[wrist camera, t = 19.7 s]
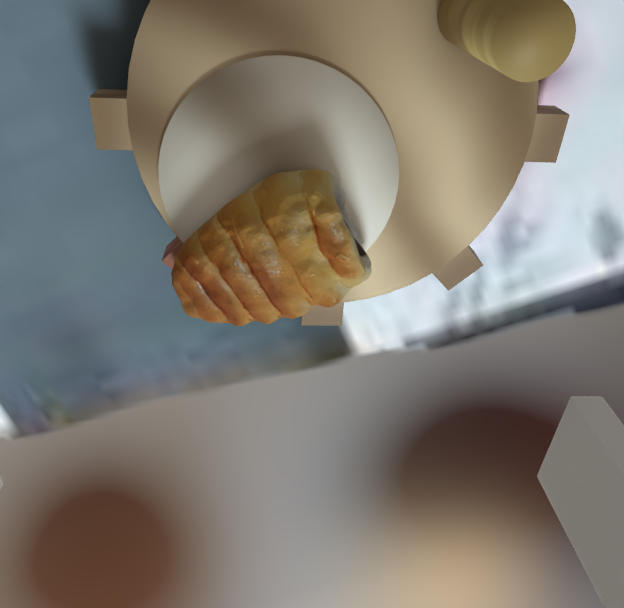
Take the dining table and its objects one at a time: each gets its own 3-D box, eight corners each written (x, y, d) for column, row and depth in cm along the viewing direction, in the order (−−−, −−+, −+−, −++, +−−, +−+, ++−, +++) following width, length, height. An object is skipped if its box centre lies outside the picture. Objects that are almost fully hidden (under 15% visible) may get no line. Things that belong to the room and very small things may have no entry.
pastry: (217, 332, 30) (210, 378, 27) (143, 229, 27) (126, 268, 24) (378, 260, 29) (391, 301, 25) (321, 141, 25) (329, 170, 22)
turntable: (315, 367, 35) (327, 485, 27) (3, 110, 26) (-107, 181, 18) (632, 131, 28) (765, 202, 20) (363, -336, 19) (424, -517, 11)
